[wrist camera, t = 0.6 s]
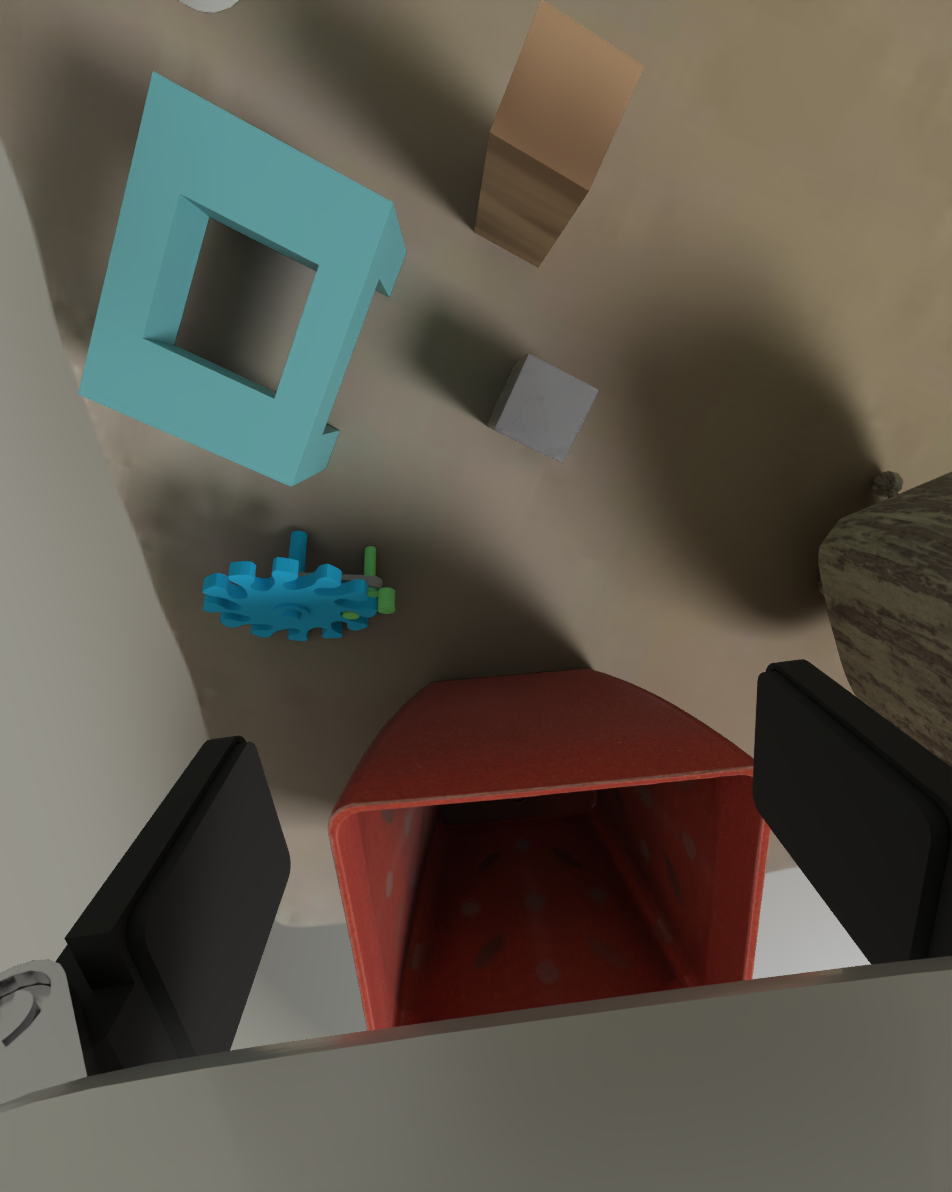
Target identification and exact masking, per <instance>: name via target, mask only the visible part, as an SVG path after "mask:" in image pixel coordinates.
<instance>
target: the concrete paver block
mask: <svg viewBox="0 0 952 1192" xmlns="http://www.w3.org/2000/svg"><path fill="white" fill-rule="evenodd" d="M598 392H599V390H598V389H596V388H595V387H593V386H591V385H589V384H587V383H585V382H583V381H581V380H579V379H577V378H575V377H573V376H571V375H570V374H568V373H566V372H564V371H562V370H560V369H558V368H556V367H554V366H552V365H550V364H548V363H546V362H545V361H543V360H541V359H539V358H537V357H535V356H533V355H531V354H527V355H526V356H524V357H523V358H521V359H519V360H518V361H516V362H515V364H514V366H513V368H512V370H511V373H510V375H509V377H508V379H507V381H506V384H505V386H504V388H503V390H502V393H501V395H500V397H499V399H498V402H497V404H496V406H495V408H494V410H493V413H492V415H491V417H490V419H489V422H488V424H487V427H489V428H491V429H493V430H495V431H497V432H499V433H501V434H503V435H505V436H507V437H509V438H511V439H513V440H515V441H517V442H519V443H522V444H524V445H526V446H528V447H530V448H532V449H534V450H536V451H538V452H540V453H542V454H544V455H546V456H548V457H550V458H552V459H554V460H557V461H559V462H561V463H563V462H564V460H565V458H566V456H567V454H568V452H569V450H570V448H571V446H572V444H573V442H574V440H575V438H576V436H577V434H578V432H579V430H580V428H581V426H582V424H583V422H584V420H585V418H586V416H587V414H588V412H589V410H590V408H591V406H592V404H593V402H594V400H595V398H596V396H597V394H598Z"/></svg>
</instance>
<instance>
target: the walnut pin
mask: <svg viewBox="0 0 952 1192" xmlns="http://www.w3.org/2000/svg"><path fill="white" fill-rule="evenodd" d="M644 67H645V66H643V65H642V64H640V63H639V62H637V61H636V60H634V59H632V58H631V57H629V56H628V55H626V54H625V53H623V52H622V51H620V50H619V49H617V48H616V47H614V46H612V45H611V44H609V43H608V42H606V41H605V40H603V39H602V38H600V37H599V36H597V35H596V34H594V33H592V32H591V31H589V30H588V29H586V28H585V27H583V26H582V25H580V24H579V23H577V22H576V21H574V20H572V19H571V18H569V17H568V16H566V15H565V14H563V13H562V12H560V11H559V10H557V9H556V8H554V7H553V6H551V5H549V4H548V3H546V2H545V1H543V0H541V1H540V4H539V7H538V9H537V12H536V14H535V17H534V19H533V22H532V25H531V27H530V30H529V32H528V35H527V37H526V40H525V42H524V45H523V48H522V50H521V53H520V55H519V58H518V60H517V63H516V66H515V68H514V71H513V73H512V76H511V78H510V81H509V83H508V86H507V89H506V91H505V94H504V96H503V99H502V101H501V104H500V106H499V109H498V112H497V114H496V117H495V119H494V122H493V124H492V127H491V130H490V132H489V139H488V145H487V152H486V158H485V165H484V172H483V178H482V185H481V191H480V198H479V204H478V211H477V218H476V224H475V231H474V232H475V233H477V234H479V235H480V236H482V237H484V238H486V239H488V240H489V241H491V242H493V243H495V244H497V245H498V246H500V247H502V248H504V249H506V250H508V251H509V252H511V253H513V254H515V255H517V256H518V257H520V258H522V259H524V260H526V261H527V262H529V263H531V264H533V265H535V266H536V267H539V266H540V264H541V263H542V261H543V260H544V258H545V257H546V255H547V254H548V252H549V251H550V249H551V248H552V246H553V245H554V243H555V241H556V240H557V238H558V237H559V235H560V234H561V232H562V231H563V229H564V228H565V226H566V225H567V223H568V222H569V220H570V219H571V217H572V216H573V214H574V213H575V211H576V210H577V208H578V207H579V205H580V204H581V202H582V201H583V199H584V198H585V196H586V195H587V193H588V192H589V190H590V187H591V185H592V183H593V181H594V178H595V176H596V174H597V172H598V170H599V167H600V165H601V163H602V161H603V158H604V156H605V154H606V152H607V149H608V147H609V145H610V143H611V141H612V138H613V136H614V134H615V132H616V129H617V127H618V125H619V123H620V120H621V118H622V116H623V114H624V111H625V109H626V107H627V105H628V103H629V100H630V98H631V96H632V94H633V91H634V89H635V87H636V85H637V82H638V80H639V78H640V76H641V74H642V71H643V69H644Z"/></svg>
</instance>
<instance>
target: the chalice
mask: <svg viewBox="0 0 952 1192" xmlns="http://www.w3.org/2000/svg"><path fill="white" fill-rule="evenodd" d="M179 1H180V2H181V3H183V4H185V5H187V6H189V7H191V8H193V9H195V10H197V11H202V12H214V13H216V12H219V11H222V10H225V9H228V8H231V7H232V6H233V5H234V4H235V3H236V2H237V1H238V0H179Z"/></svg>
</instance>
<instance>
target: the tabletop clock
mask: <svg viewBox="0 0 952 1192" xmlns="http://www.w3.org/2000/svg"><path fill="white" fill-rule="evenodd" d="M902 485H903V480H902V478H901V477H900V475H899V474H898V473H894V472H890V471H887V472H884V473H880V474H879V475H878V476H877V477H876V478H875V479H873V484H872V489H873V490H874V492H875V493H876V494H877V495H880V496H884V497H888V499H886V500H884V501H881V502H879V503H877V504H874V505H872V506H869V507H867V508H865V509H862V510H860V511H858V512H855V513H853V514H850V515H848V516H846V517H843V518H841V519H839V520H838V521H837V523H836V524H835V525H834V527H833V528H832V530H831V531H830V532H829V534H828V535H827V537H826V538H825V540H824V541H823V542H822V544H821V545H820V547H819V557H818V560H819V570H820V576H821V579H820V581H819V583H818V588H819V591H820V592H821V593H822V594H823V595H824V596H825V600H826V605H827V610H828V615H829V620H830V623H831V627H832V631H833V634H834V638H835V641H836V645H837V649H838V652H839V656H840V659H841V663H842V666H843V669H844V672H845V675H846V677H847V680H848V682H849V684H850V686H851V688H852V690H853V692H854V694H855V695H856V696H857V697H858V698H859V699H860V700H861V701H862V702H864V703H865V704H866V705H868V706H869V707H871V708H872V709H873V710H875V711H876V712H877V713H879V714H880V715H881V716H883V717H884V718H885V719H887V720H888V721H890V722H891V723H892V724H894V725H895V726H896V727H898V728H899V729H900V730H902V731H903V732H904V733H906V734H907V735H909V736H910V737H911V738H913V739H914V740H915V741H917V742H918V743H919V744H921V745H922V746H923V747H925V748H926V749H927V750H929V751H930V752H932V753H933V754H934V755H936V756H937V757H938V758H940V759H941V760H942V761H944V762H945V763H946V764H948V765H949V766H951V767H952V472H950V473H948V474H945V475H943V476H941V477H938V478H936V479H933V480H931V481H929V482H926V483H924V484H922V485H919V486H917V487H915V488H912V489H910V490H907V491H905V492H903V493H900V494H898V491H900V490H901V489H902Z"/></svg>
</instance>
